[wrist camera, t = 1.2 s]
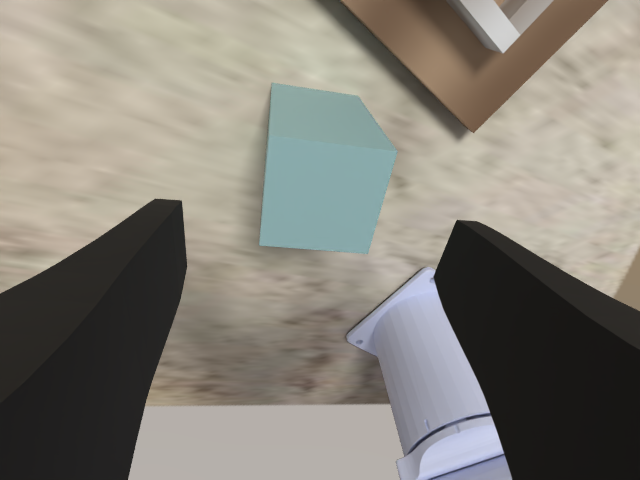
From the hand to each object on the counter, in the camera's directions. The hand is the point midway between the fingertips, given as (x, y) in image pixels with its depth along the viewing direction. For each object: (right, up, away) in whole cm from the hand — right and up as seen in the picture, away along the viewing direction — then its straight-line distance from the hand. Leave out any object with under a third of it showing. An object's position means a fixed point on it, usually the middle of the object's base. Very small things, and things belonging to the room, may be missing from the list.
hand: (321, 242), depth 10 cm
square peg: (-1, +5, +8) cm, 10 cm away
